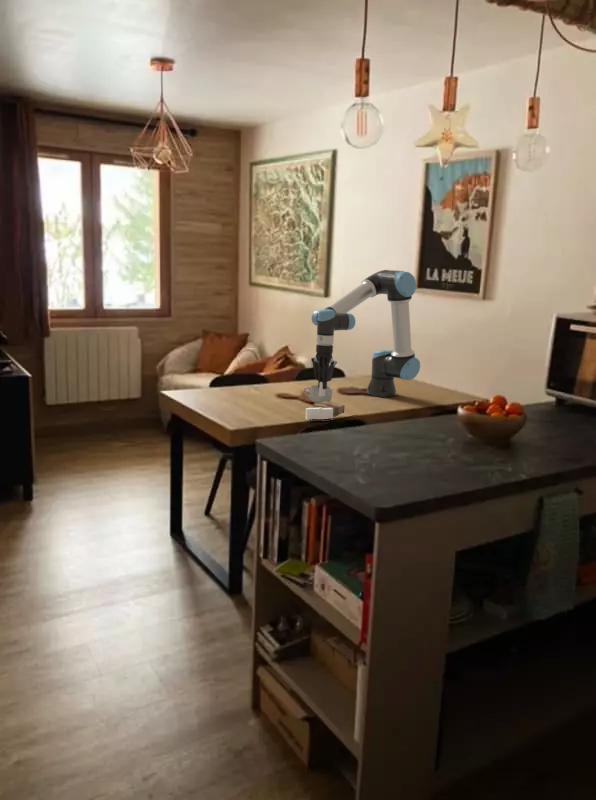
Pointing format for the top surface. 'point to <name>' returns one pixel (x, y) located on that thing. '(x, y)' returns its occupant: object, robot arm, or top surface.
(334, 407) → the walnut slab
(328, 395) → the teacup
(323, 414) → the napkin holder
